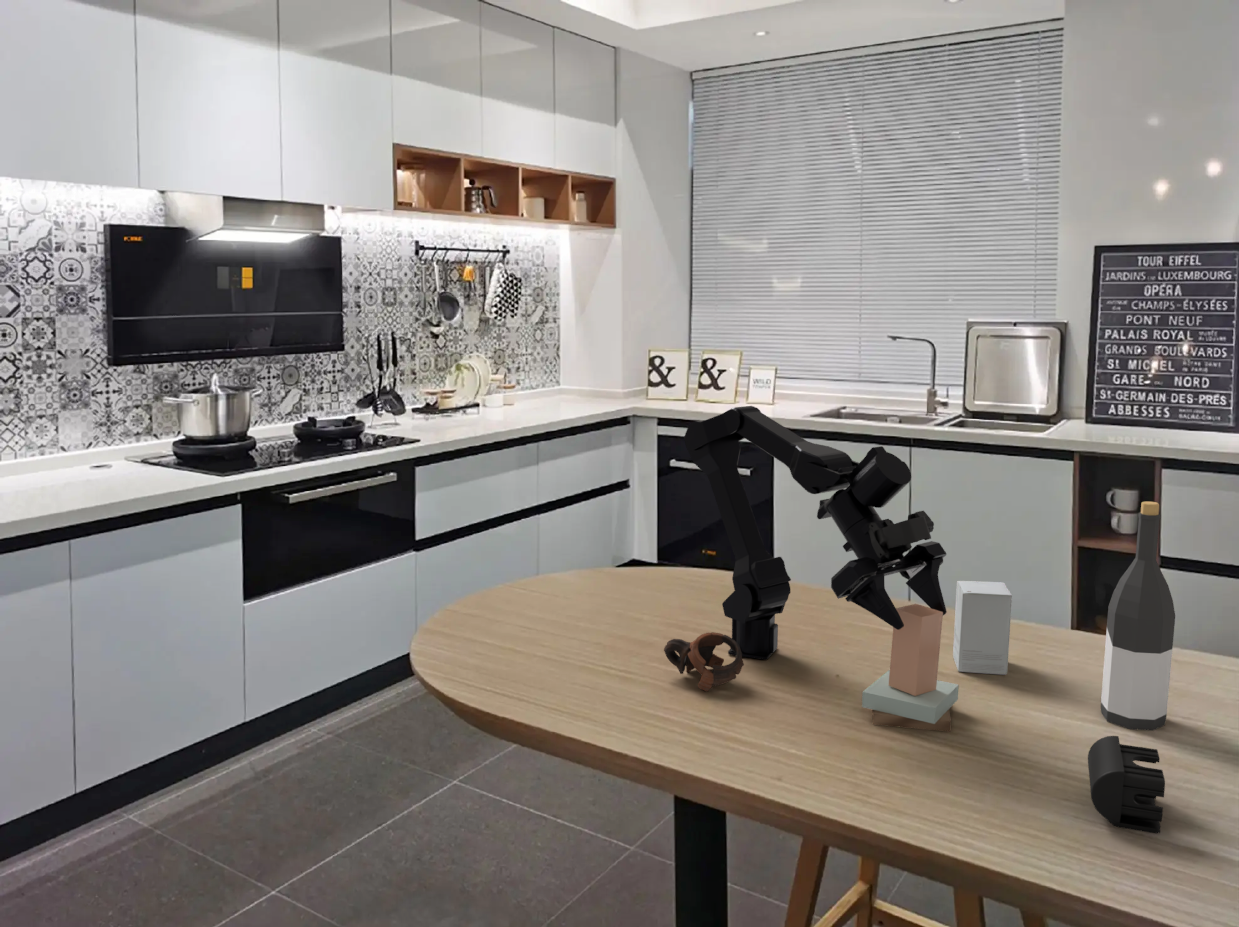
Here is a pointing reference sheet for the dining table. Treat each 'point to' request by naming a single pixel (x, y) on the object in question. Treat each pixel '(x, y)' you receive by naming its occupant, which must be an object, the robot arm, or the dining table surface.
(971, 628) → the supplement box
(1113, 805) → the end cap
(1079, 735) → the dining table surface
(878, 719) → the slab lower
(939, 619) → the terracotta block
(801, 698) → the dining table surface
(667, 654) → the brown curved piece
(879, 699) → the slab upper
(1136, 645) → the wine bottle
